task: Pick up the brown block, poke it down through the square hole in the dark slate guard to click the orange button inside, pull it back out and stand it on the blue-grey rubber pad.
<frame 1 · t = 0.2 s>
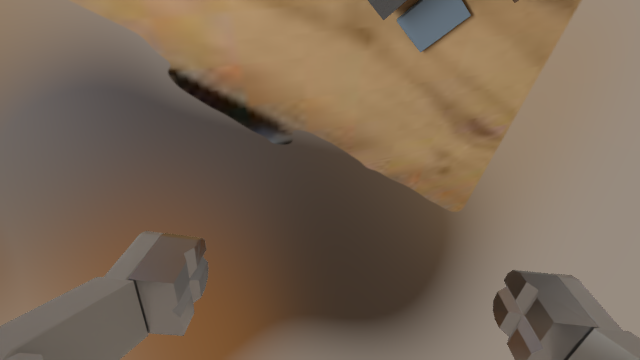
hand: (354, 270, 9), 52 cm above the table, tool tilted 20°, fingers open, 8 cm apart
pad: (432, 16, 52), on the table
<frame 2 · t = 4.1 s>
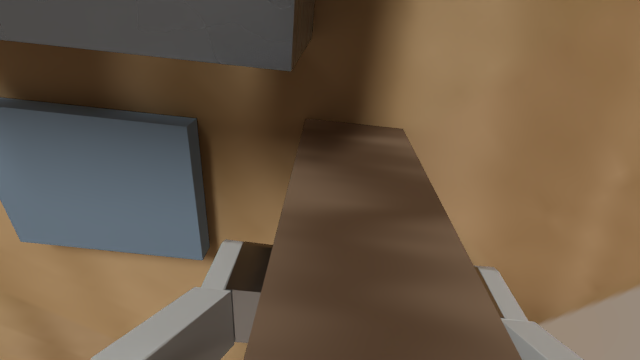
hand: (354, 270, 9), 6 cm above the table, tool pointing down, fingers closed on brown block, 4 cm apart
pad: (107, 179, 15), on the table
brown block: (347, 167, 14), on the table, touching gripper
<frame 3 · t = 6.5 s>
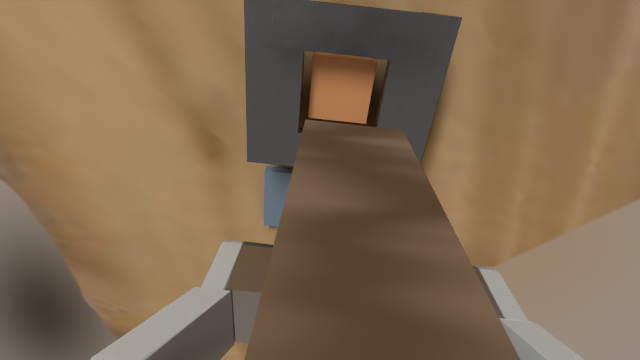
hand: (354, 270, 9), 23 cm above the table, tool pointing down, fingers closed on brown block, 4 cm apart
pad: (307, 198, 35), on the table
brown block: (347, 167, 14), point 17 cm above the table, touching gripper
guard: (340, 80, 28), on the table
button: (340, 87, 26), point 3 cm above the table, slide at 0.0 cm
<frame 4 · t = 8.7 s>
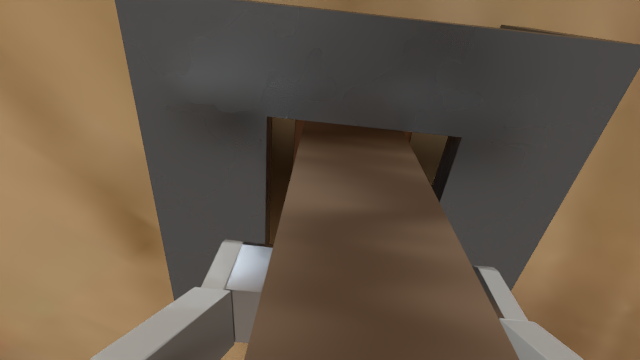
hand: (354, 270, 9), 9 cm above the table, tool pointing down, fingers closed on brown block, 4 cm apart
brown block: (347, 168, 14), point 3 cm above the table, touching button, gripper
guard: (345, 141, 16), on the table
button: (346, 154, 15), point 2 cm above the table, slide at 1.2 cm, touching brown block
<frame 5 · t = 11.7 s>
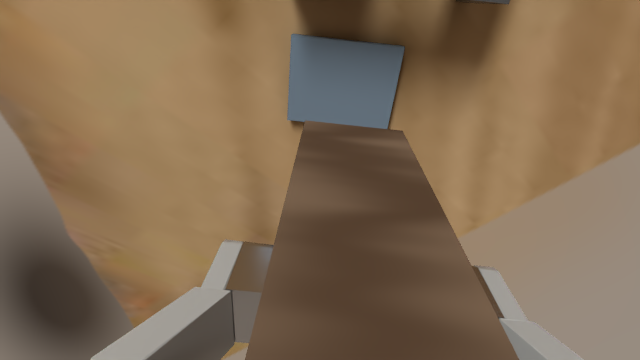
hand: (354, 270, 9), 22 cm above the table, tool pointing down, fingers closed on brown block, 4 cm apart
pad: (342, 83, 28), on the table
brown block: (347, 168, 14), point 16 cm above the table, touching gripper
when the fingers open (9 cm above the table, at t = 14.3 s): brown block drops 1 cm, resting on pad.
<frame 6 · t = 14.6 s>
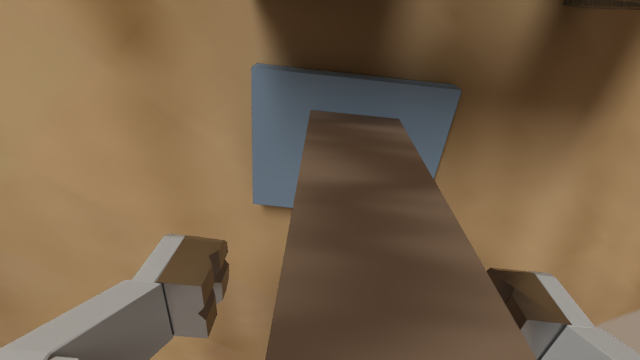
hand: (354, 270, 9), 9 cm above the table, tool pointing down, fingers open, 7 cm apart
pad: (345, 145, 16), on the table
brown block: (348, 154, 15), point 1 cm above the table, touching pad
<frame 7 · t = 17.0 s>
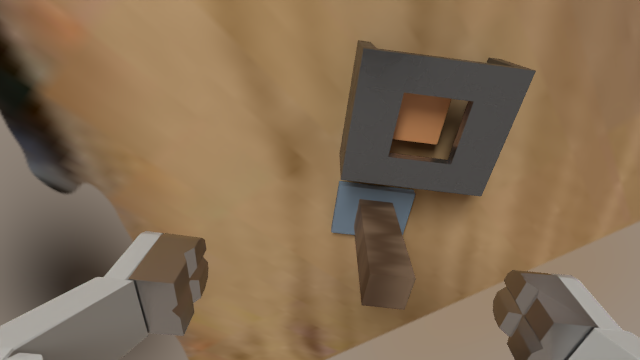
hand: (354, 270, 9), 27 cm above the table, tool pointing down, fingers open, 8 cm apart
pad: (370, 209, 40), on the table
brown block: (372, 214, 39), point 1 cm above the table, touching pad
guard: (413, 110, 33), on the table
button: (417, 115, 32), point 2 cm above the table, slide at 1.2 cm
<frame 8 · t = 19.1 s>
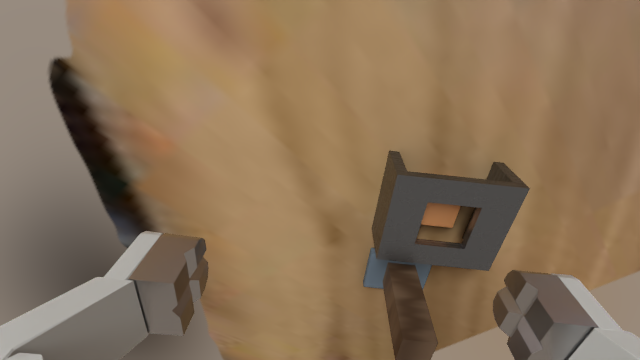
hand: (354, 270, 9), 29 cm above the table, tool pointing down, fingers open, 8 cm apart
pad: (396, 268, 48), on the table
brown block: (398, 273, 47), point 1 cm above the table, touching pad
guard: (433, 198, 41), on the table
button: (436, 204, 40), point 2 cm above the table, slide at 1.2 cm
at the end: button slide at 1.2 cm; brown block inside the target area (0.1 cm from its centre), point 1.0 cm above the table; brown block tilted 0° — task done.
